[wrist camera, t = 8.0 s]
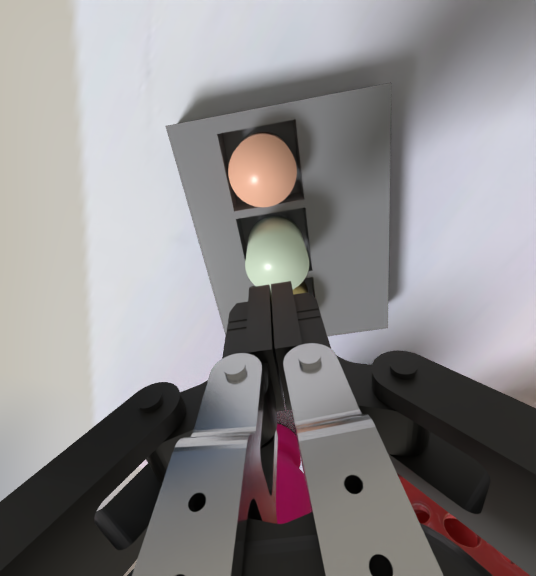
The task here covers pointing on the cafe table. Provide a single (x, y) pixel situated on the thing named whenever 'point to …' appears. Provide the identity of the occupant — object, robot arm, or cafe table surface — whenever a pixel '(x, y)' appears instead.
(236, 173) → the terracotta button
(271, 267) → the sage button
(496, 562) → the plant pot
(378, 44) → the cafe table surface
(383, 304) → the panel
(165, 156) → the cafe table surface
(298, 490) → the pepper mill
